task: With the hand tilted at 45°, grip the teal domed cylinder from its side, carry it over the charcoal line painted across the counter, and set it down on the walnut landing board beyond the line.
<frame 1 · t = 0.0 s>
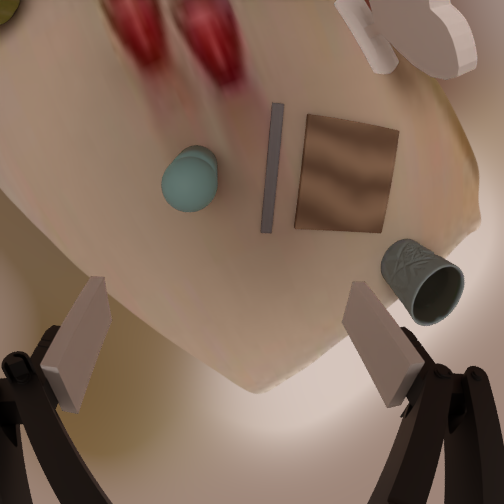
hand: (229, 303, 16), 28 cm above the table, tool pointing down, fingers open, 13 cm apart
grey textured cup: (400, 259, 50), on the table
throw line: (271, 169, 41), on the table
teal domed cylinder: (196, 166, 40), on the table
plant pot: (6, 8, 24), on the table
landing board: (347, 176, 43), on the table
heart sculpture: (367, 32, 34), on the table
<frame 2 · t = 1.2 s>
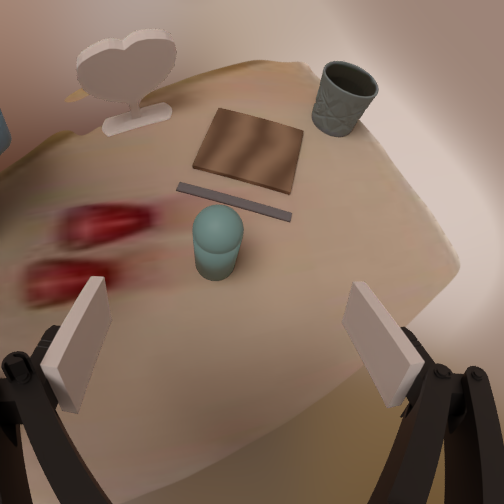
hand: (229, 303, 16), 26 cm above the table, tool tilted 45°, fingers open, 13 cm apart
grey textured cup: (330, 121, 57), on the table
throw line: (233, 201, 48), on the table
teal domed cylinder: (215, 261, 44), on the table
landing board: (251, 148, 52), on the table
heart sculpture: (136, 119, 52), on the table
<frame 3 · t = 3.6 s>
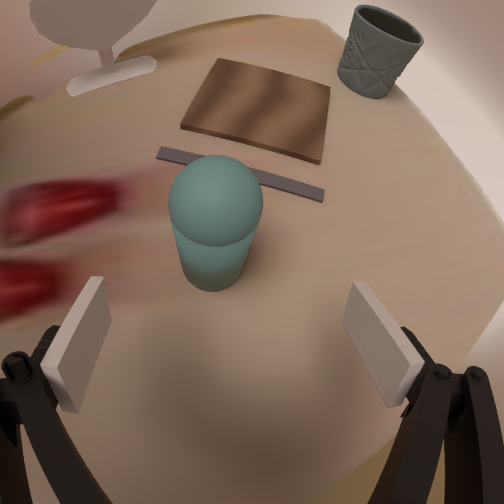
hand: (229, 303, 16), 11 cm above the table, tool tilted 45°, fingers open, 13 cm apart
grey textured cup: (360, 81, 42), on the table
throw line: (239, 172, 32), on the table
teal domed cylinder: (212, 261, 28), on the table
landing board: (262, 104, 36), on the table
heart sculpture: (110, 75, 36), on the table
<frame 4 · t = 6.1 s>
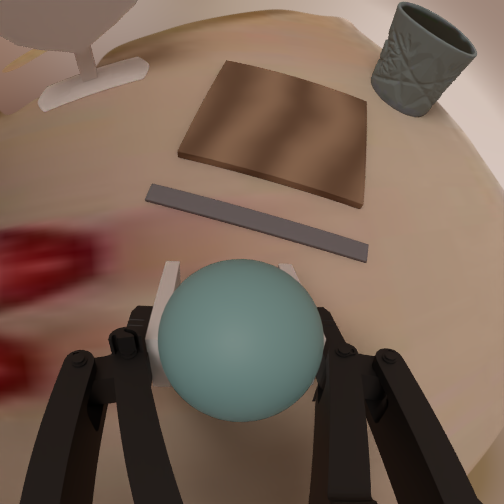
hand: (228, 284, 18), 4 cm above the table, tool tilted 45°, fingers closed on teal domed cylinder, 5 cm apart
grey textured cup: (397, 94, 34), on the table
throw line: (259, 222, 24), on the table
teal domed cylinder: (224, 352, 21), on the table, touching gripper
landing board: (285, 123, 28), on the table
heart sculpture: (91, 82, 28), on the table
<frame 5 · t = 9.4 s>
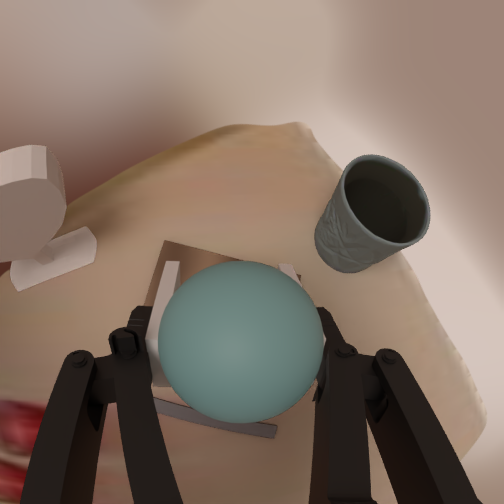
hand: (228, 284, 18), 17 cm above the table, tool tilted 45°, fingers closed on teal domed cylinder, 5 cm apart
grey textured cup: (343, 242, 39), on the table
throw line: (193, 415, 30), on the table
teal domed cylinder: (224, 353, 21), point 13 cm above the table, touching gripper
landing board: (216, 319, 34), on the table
heart sculpture: (50, 259, 33), on the table
when the fingers open (7 cm above the table, at t = 12.7 s): teal domed cylinder drops 1 cm, resting on landing board.
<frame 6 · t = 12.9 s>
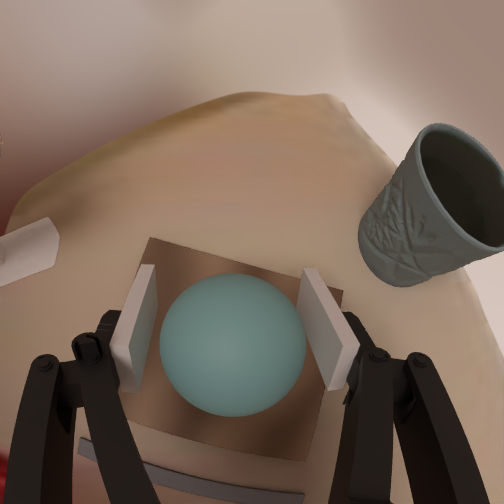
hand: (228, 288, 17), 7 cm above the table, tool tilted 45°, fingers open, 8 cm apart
grey textured cup: (393, 245, 28), on the table
throw line: (189, 483, 19), on the table
teal domed cylinder: (224, 354, 22), point 1 cm above the table, touching landing board
landing board: (223, 353, 23), on the table
heart sculpture: (3, 260, 22), on the table
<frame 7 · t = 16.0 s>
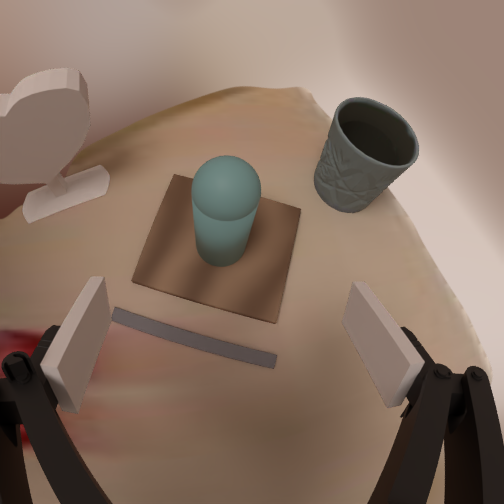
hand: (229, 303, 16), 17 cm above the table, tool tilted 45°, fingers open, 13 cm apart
grey textured cup: (340, 186, 41), on the table
throw line: (191, 339, 32), on the table
teal domed cylinder: (220, 242, 35), point 1 cm above the table, touching landing board
landing board: (219, 245, 36), on the table
heart sculpture: (64, 194, 36), on the table
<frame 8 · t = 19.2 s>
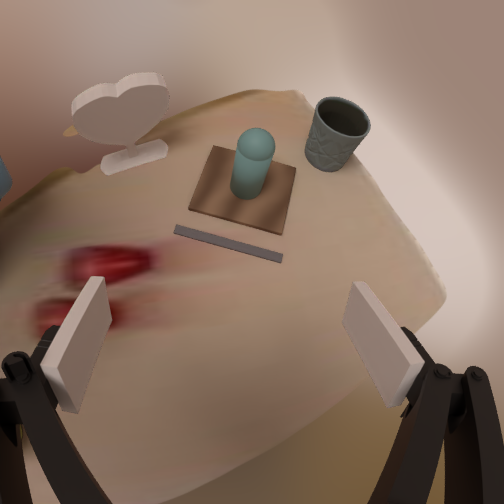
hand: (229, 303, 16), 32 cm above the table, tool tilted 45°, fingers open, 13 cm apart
grey textured cup: (323, 155, 61), on the table
throw line: (227, 243, 51), on the table
teal domed cylinder: (245, 186, 54), point 1 cm above the table, touching landing board
landing board: (244, 188, 55), on the table
heart sculpture: (134, 156, 55), on the table
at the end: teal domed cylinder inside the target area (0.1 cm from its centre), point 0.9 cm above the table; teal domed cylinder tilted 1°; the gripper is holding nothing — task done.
